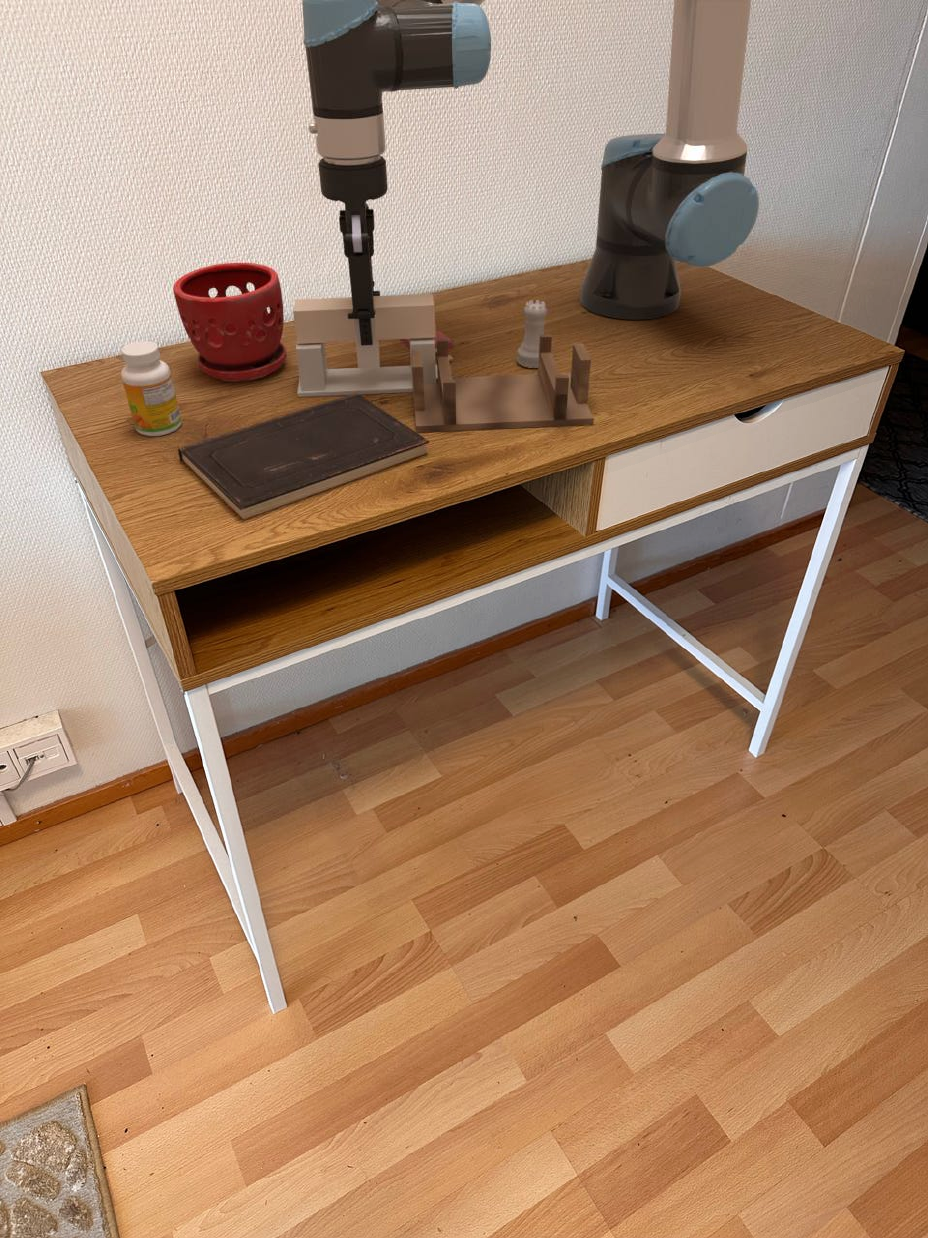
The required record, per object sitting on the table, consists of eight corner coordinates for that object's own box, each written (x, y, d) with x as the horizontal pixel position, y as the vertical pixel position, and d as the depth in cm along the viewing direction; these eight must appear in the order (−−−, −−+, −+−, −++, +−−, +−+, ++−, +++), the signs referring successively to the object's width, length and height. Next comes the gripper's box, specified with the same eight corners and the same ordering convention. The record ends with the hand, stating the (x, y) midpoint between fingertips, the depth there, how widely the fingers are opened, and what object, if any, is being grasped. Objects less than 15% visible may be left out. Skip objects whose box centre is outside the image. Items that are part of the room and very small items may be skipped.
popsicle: (432, 358, 117) (385, 322, 127) (433, 369, 118) (386, 332, 128) (467, 350, 119) (419, 315, 129) (468, 361, 120) (419, 325, 130)
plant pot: (215, 346, 123) (198, 258, 116) (304, 352, 121) (293, 263, 114) (174, 385, 113) (153, 292, 106) (271, 393, 111) (256, 298, 104)
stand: (436, 368, 117) (435, 323, 113) (440, 390, 112) (439, 344, 108) (301, 373, 116) (295, 329, 112) (297, 396, 110) (291, 350, 107)
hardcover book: (429, 458, 99) (429, 440, 98) (243, 526, 89) (239, 507, 87) (355, 407, 109) (354, 390, 108) (180, 464, 99) (176, 445, 97)
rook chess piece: (524, 353, 120) (527, 295, 115) (554, 359, 119) (558, 300, 114) (510, 365, 117) (512, 306, 112) (541, 372, 116) (544, 311, 111)
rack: (573, 378, 114) (577, 330, 110) (593, 424, 104) (597, 373, 100) (412, 385, 113) (409, 337, 109) (416, 432, 103) (414, 381, 99)
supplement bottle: (130, 422, 105) (109, 344, 99) (175, 412, 107) (157, 335, 101) (141, 441, 102) (120, 361, 96) (187, 430, 104) (169, 351, 98)
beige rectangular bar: (433, 325, 112) (432, 293, 109) (435, 337, 109) (434, 304, 106) (299, 331, 111) (295, 299, 108) (297, 343, 108) (293, 311, 105)
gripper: (320, 141, 103) (341, 335, 118) (313, 176, 90) (337, 389, 105) (384, 138, 104) (396, 332, 119) (386, 174, 91) (400, 386, 106)
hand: (369, 359), depth 112 cm, fingers closed on beige rectangular bar, 4 cm apart
